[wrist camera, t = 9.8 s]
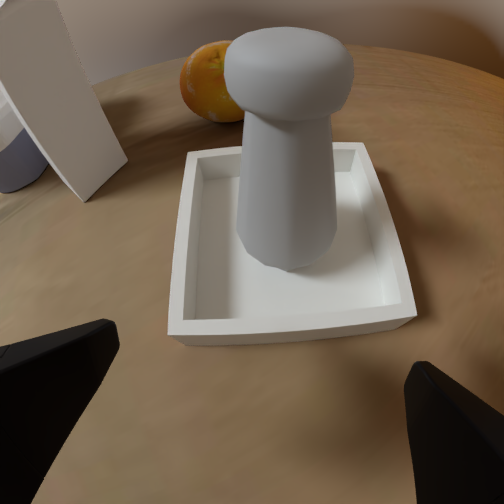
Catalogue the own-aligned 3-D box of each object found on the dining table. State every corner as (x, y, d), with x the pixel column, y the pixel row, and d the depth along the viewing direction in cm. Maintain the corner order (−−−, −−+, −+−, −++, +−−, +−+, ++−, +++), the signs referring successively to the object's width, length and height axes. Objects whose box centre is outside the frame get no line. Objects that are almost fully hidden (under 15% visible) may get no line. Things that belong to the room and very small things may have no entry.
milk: (102, 145, 27) (28, -20, 7) (129, 161, 25) (46, -42, 5) (62, 182, 25) (-33, 21, 5) (83, 205, 23) (-33, 6, 3)
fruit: (244, 146, 24) (234, 67, 17) (173, 127, 26) (152, 62, 19) (285, 102, 27) (283, 35, 20) (218, 88, 30) (208, 30, 23)
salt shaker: (289, 192, 20) (292, 10, 9) (348, 246, 18) (412, 53, 6) (222, 237, 19) (166, 44, 7) (278, 302, 16) (281, 93, 5)
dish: (395, 329, 16) (417, 315, 13) (185, 345, 16) (167, 334, 14) (355, 171, 22) (362, 142, 19) (197, 180, 22) (187, 152, 20)
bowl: (45, 195, 24) (-10, 124, 14) (-18, 214, 25) (-62, 166, 15) (90, 111, 31) (61, 50, 22) (23, 138, 32) (-6, 92, 22)
